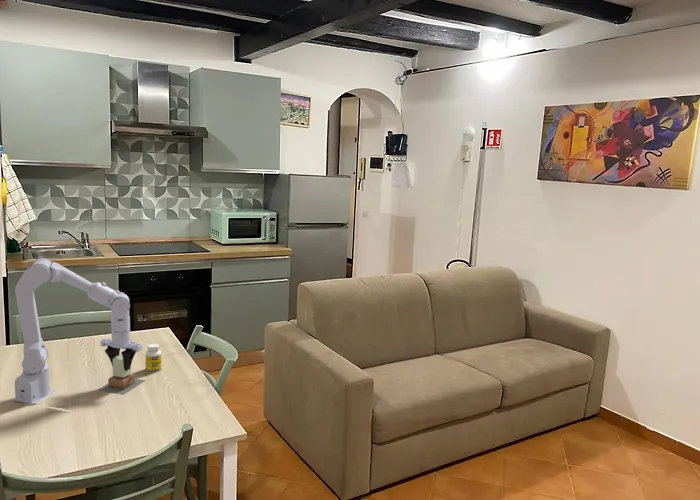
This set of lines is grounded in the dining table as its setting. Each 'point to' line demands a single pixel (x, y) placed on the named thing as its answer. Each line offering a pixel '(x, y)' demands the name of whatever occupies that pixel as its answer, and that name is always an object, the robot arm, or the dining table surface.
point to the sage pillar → (119, 367)
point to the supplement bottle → (153, 358)
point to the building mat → (119, 391)
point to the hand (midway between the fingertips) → (121, 368)
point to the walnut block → (121, 381)
